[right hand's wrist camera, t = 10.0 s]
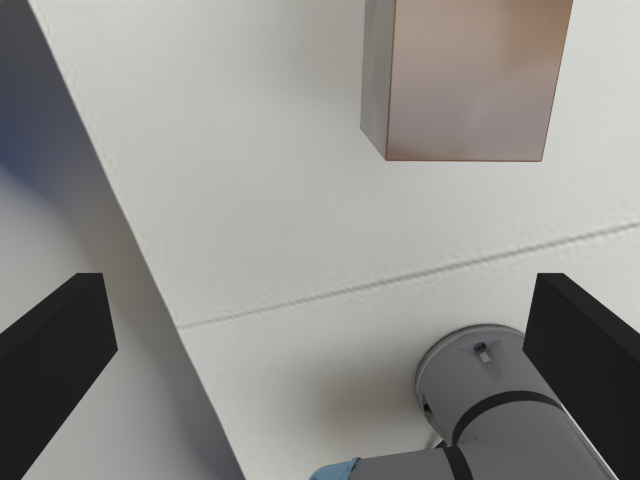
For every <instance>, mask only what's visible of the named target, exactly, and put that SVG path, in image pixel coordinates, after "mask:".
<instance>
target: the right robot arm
mask: <svg viewBox="0 0 640 480" xmlns="http://www.w3.org/2000/svg"><path fill="white" fill-rule="evenodd" d="M117 351H118V348H117V343H116V338H115V333H114V328H113V323H112V318H111V313H110V308H109V303H108V298H107V294H106V289H105V284H104V279H103V274H102V273H76V274H75V275H74V276H73V277H71V278H70V279H69V280H68V281H66V282H65V283H64V284H63V285H61V286H60V287H59V288H57V289H56V290H55V291H54V292H52V293H51V294H50V295H49V296H47V297H46V298H45V299H44V300H42V301H41V302H40V303H39V304H37V305H36V306H35V307H34V308H32V309H31V310H30V311H28V312H27V313H26V314H25V315H23V316H22V317H21V318H20V319H18V320H17V321H16V322H15V323H13V324H12V325H11V326H10V327H8V328H7V329H6V330H5V331H3V332H2V333H1V334H0V480H21V479H22V478H23V476H24V475H25V473H26V472H27V471H28V469H29V468H30V467H31V465H32V464H33V463H34V461H35V460H36V459H37V457H38V456H39V455H40V453H41V452H42V451H43V449H44V448H45V447H46V445H47V444H48V443H49V441H50V440H51V439H52V437H53V436H54V435H55V433H56V432H57V431H58V429H59V428H60V427H61V425H62V424H63V423H64V421H65V420H66V419H67V417H68V416H69V415H70V413H71V412H72V411H73V409H74V408H75V407H76V405H77V404H78V403H79V401H80V400H81V399H82V397H83V396H84V395H85V393H86V392H87V391H88V389H89V388H90V387H91V385H92V384H93V383H94V381H95V380H96V379H97V377H98V376H99V375H100V373H101V372H102V371H103V369H104V368H105V367H106V365H107V364H108V363H109V361H110V360H111V359H112V357H113V356H114V355H115V353H116V352H117ZM415 390H416V395H417V398H418V402H419V405H420V408H421V410H422V412H423V414H424V416H425V417H426V419H427V421H428V422H429V423H430V424H431V426H432V427H433V428H434V429H435V431H436V432H437V433H438V434H439V435H440V437H441V438H442V439H443V441H442V442H441V443H439V444H438V445H437V446H436V447H435V448H434V449H428V450H421V451H414V452H407V453H400V454H394V455H387V456H380V457H373V458H366V459H361V457H356V458H353V459H352V460H351V461H348V462H343V463H338V464H333V465H328V466H324V467H321V468H320V469H318V470H317V471H315V472H314V474H313V475H312V476H311V477H310V479H309V480H616V478H615V477H614V476H613V474H612V473H611V472H610V470H609V469H608V468H607V466H606V465H605V464H604V462H603V461H602V460H601V458H600V457H599V456H598V454H597V453H596V452H595V450H594V449H593V448H592V446H591V445H590V444H589V442H588V441H587V440H586V438H585V437H584V436H583V434H582V433H581V432H580V430H579V429H578V428H577V426H576V425H575V424H574V422H573V421H572V420H571V418H570V417H569V416H568V415H567V413H566V412H565V410H564V409H563V408H562V406H561V403H562V404H563V405H564V407H565V408H566V409H567V411H568V412H569V413H570V415H571V416H572V417H573V419H574V420H575V421H576V423H577V424H578V425H579V427H580V428H581V429H582V431H583V432H584V433H585V435H586V436H587V437H588V439H589V440H590V441H591V443H592V444H593V445H594V447H595V448H596V449H597V451H598V452H599V453H600V455H601V456H602V457H603V459H604V460H605V461H606V463H607V464H608V465H609V467H610V468H611V469H612V471H613V472H614V473H615V475H616V476H617V478H618V479H619V480H640V334H639V333H638V332H637V331H635V330H634V329H633V328H632V327H630V326H629V325H628V324H627V323H625V322H624V321H623V320H622V319H620V318H619V317H618V316H617V315H615V314H614V313H613V312H612V311H610V310H609V309H608V308H606V307H605V306H604V305H603V304H601V303H600V302H599V301H598V300H596V299H595V298H594V297H593V296H591V295H590V294H589V293H588V292H586V291H585V290H584V289H583V288H581V287H580V286H579V285H577V284H576V283H575V282H574V281H572V280H571V279H570V278H569V277H567V276H566V275H565V274H564V273H538V274H537V279H536V284H535V289H534V294H533V298H532V303H531V308H530V313H529V318H528V323H527V328H526V333H525V334H523V333H521V332H519V331H517V330H514V329H512V328H508V327H504V326H498V325H480V326H474V327H469V328H465V329H462V330H459V331H457V332H455V333H452V334H451V335H449V336H447V337H445V338H444V339H442V340H441V341H439V342H438V343H437V344H436V345H435V346H434V347H432V348H431V349H430V351H429V352H428V353H427V354H426V356H425V357H424V358H423V360H422V362H421V363H420V366H419V368H418V371H417V374H416V379H415ZM560 401H561V402H560ZM447 446H449V447H447Z"/></svg>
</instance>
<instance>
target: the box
mask: <svg viewBox="0 0 640 480" xmlns="http://www.w3.org/2000/svg"><path fill="white" fill-rule="evenodd" d="M572 4H573V0H365V23H364V48H363V74H362V100H361V125H360V128H361V130H362V131H363V132H364V134H365V135H366V136H367V138H368V139H369V140H370V141H371V143H372V144H373V145H374V146H375V148H376V149H377V150H378V151H379V153H380V154H381V155H382V157H383V158H384V159H385V160H386V161H490V162H541V161H542V157H543V152H544V147H545V142H546V136H547V131H548V126H549V121H550V116H551V111H552V106H553V101H554V96H555V90H556V85H557V80H558V75H559V70H560V65H561V60H562V55H563V50H564V44H565V39H566V34H567V29H568V24H569V19H570V14H571V9H572Z"/></svg>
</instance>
